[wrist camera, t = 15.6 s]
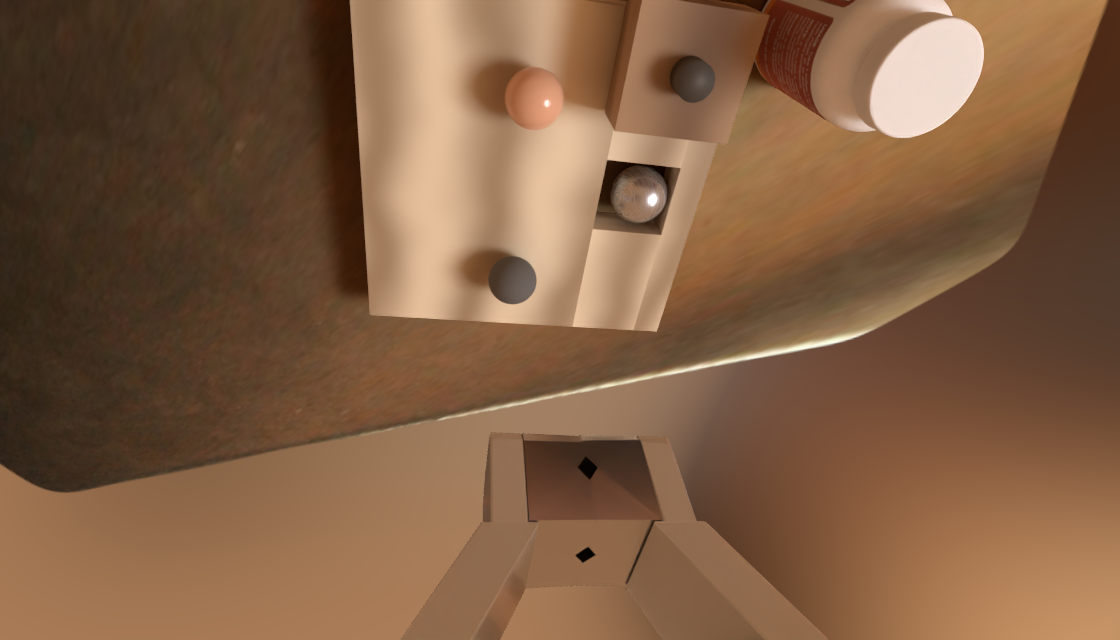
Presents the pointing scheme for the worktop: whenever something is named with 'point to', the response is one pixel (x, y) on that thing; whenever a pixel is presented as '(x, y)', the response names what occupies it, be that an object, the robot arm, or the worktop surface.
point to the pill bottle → (872, 61)
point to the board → (506, 166)
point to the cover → (683, 67)
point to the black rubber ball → (512, 280)
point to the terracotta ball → (534, 98)
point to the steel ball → (638, 194)
